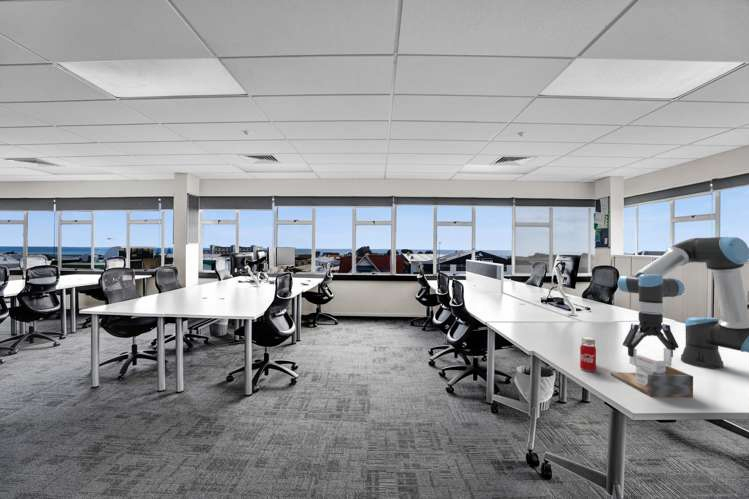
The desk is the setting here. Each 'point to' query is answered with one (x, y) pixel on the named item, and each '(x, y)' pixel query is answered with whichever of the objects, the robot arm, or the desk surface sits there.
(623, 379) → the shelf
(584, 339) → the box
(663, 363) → the ink box
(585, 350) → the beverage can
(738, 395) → the desk surface
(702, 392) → the desk surface
